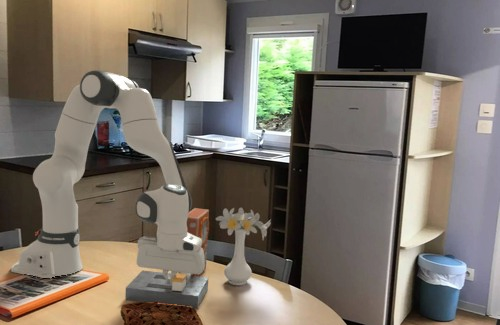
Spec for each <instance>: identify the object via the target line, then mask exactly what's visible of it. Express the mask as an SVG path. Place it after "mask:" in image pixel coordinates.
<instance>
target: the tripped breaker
mask: <svg viewBox="0 0 500 325" xmlns="http://www.w3.org/2000/svg"><path fill="white" fill-rule="evenodd" d="M185 286H186V274H179V273H178V272H177V274H176V275H175V276H174V277H173V279H172V290H174V291H182V290H183V289H184V287H185Z"/></svg>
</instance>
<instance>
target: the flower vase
mask: <svg viewBox="0 0 500 325" xmlns="http://www.w3.org/2000/svg"><path fill="white" fill-rule="evenodd" d="M234 212H235V207H233V208H231V209H230V210H228V208H224V209H223V211H222V215H219V216H217V217H215V220H216V221H219V224H218V225H219V228H220V229H222V230H223V229H225V230H226V229H227V235H228V236H231V235H232V234H233V232H234V234H235V244H234V253H233V257H232V259H231V261H230V262H229V263H228V264H227V265H226V266H225V268H224V272H223V274H224V276H225V278H226V279H227V281H228V283H229V284H231V285H233V286H244V285H246V284H247V282H248V280H249V279H250V278H251V277H252V275H253V271H252V269H251V267H250V265H249V264H248V263H247V262H246V257H245V241H246V240H245V239H246V235H247V236H249V235H250V233H254V234H257V233H258V230H257V228H258V229H260V231H261V236H262V241H264V239H265V237H266V238H267V234H268V231H267V230H268V228H269V227H270V226H271V223H272V222H271V219H270V220H268V221H267V222H266V223H265V224H264V223H263V222H262V221H260V216H261V215H260V214H259V212H257V213H254V211H253V209H250V212H248V213H247V212H245V210H244V209H243V207H239V208H238V212H236V213H234ZM256 227H257V228H256Z"/></svg>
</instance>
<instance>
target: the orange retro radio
mask: <svg viewBox="0 0 500 325" xmlns="http://www.w3.org/2000/svg"><path fill="white" fill-rule="evenodd" d="M209 212H210V210H209V209H206V208H205V209H204V208H198V207H197V208H196V207H194V208H193V209H192V210H190V212H189V213H188V219H187V232H188V233H190V234H192V235H194V236H196V237H199V238H201V239H202V245H201V248H202V249H203V251H204V258H205V266H204V270H205V268H207V257H208V239H209V238H208V236H209V231H210V220H209V217H210V215H209V214H210V213H209ZM191 276H198V277H200V274H191Z"/></svg>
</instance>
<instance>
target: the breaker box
mask: <svg viewBox="0 0 500 325" xmlns="http://www.w3.org/2000/svg"><path fill="white" fill-rule="evenodd" d="M177 273H179V274H186V286H185V287H184V289H183V290H182V291H174V290H172V285H171V284H166V279H165V277H164V275H163V273H162V272H160V271H152V270H141V271H140V272H139V273H138V274H137V275H136V276H135V277H134V279H132V281H130V282H129V283H128V285H127V286H125V301H128V302H134V303H135V302H136V303H137V302H138V303H143V302H159V303H168V304H177V305H185V306H192V307H193V308H192V309H195V310H199V307H200V305H201V303H202V301H203V300H204V297H205V296H206V294H207V292H208V290H209V277H207V276H206V277H205V276H191V273H183V272H177ZM168 274H169V276H170V277H172V275H173V274H171V272H168Z"/></svg>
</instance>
